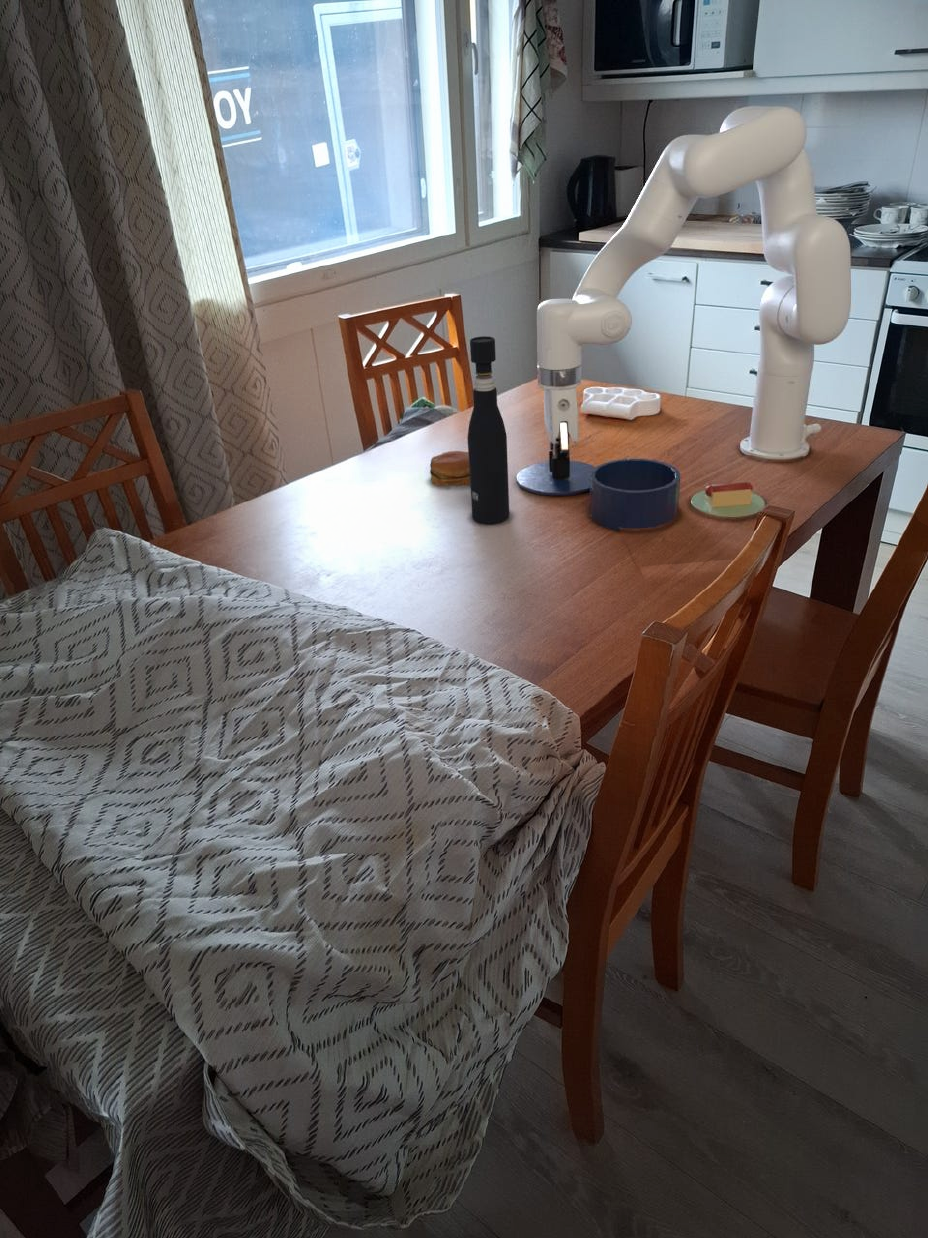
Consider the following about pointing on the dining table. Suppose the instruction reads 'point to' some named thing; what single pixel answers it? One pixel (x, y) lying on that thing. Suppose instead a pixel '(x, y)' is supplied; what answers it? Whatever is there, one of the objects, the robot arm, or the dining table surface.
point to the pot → (634, 494)
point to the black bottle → (487, 441)
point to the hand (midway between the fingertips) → (559, 473)
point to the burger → (450, 469)
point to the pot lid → (542, 482)
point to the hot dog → (729, 494)
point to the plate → (728, 511)
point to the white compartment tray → (619, 402)
